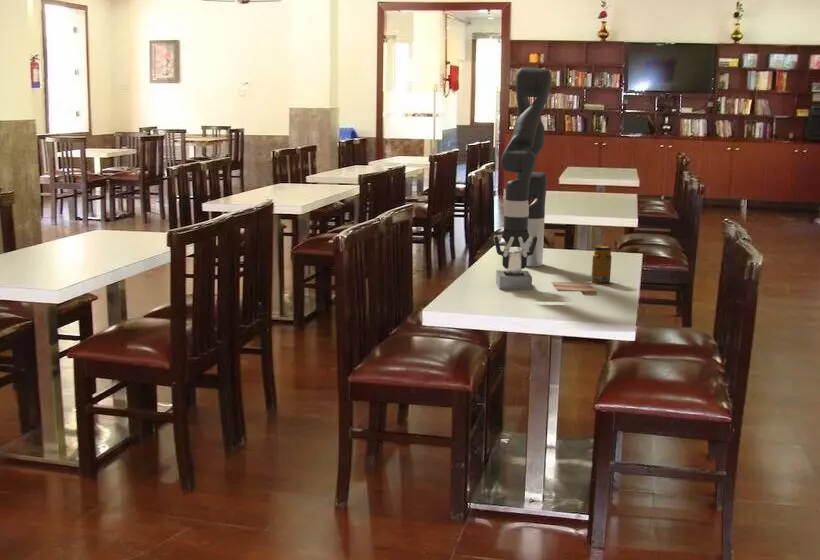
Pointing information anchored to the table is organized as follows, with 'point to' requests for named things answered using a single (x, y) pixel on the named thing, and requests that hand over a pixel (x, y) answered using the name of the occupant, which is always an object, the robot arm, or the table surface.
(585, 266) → the table surface
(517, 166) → the robot arm
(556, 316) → the table surface
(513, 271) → the plug
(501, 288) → the housing
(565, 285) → the board
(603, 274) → the condiment
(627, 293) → the table surface
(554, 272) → the table surface
